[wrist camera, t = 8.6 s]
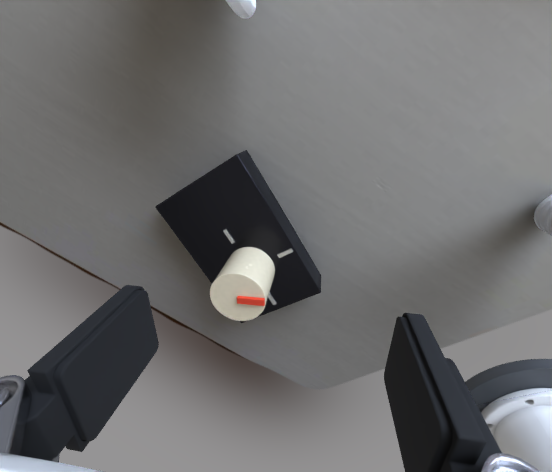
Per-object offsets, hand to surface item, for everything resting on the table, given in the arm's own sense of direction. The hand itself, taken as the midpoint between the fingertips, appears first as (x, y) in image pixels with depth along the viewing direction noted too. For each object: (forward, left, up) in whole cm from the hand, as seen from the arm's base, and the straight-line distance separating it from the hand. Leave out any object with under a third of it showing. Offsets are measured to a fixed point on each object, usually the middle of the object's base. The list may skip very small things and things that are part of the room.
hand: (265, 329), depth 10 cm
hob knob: (-3, +6, -13) cm, 15 cm away
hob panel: (-1, +6, -16) cm, 17 cm away
